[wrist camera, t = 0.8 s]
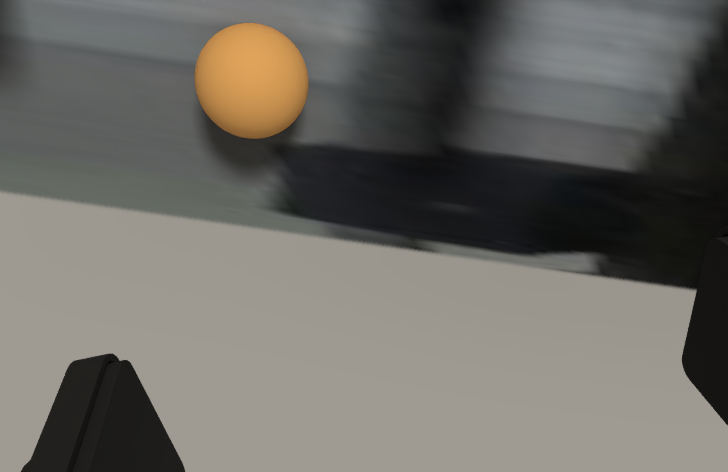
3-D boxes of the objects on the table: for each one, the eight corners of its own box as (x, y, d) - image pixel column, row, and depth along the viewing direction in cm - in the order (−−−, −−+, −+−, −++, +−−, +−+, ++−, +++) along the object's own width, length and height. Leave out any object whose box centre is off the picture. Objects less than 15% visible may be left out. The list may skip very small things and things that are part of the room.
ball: (246, -13, 31) (239, 11, 26) (327, 63, 34) (335, 98, 29) (180, 68, 33) (161, 105, 28) (262, 134, 36) (258, 178, 31)
